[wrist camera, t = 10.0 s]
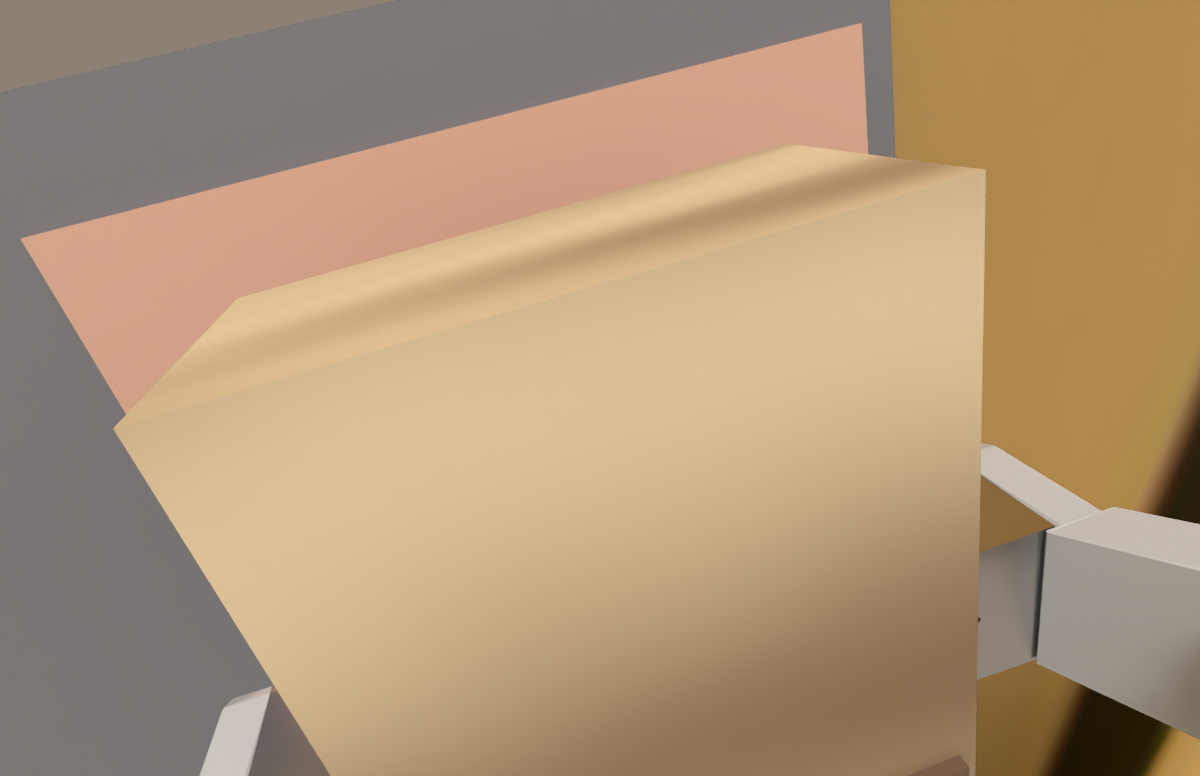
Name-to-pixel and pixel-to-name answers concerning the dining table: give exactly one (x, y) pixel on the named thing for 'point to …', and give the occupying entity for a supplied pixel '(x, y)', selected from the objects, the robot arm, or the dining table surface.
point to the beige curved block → (611, 481)
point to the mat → (308, 270)
